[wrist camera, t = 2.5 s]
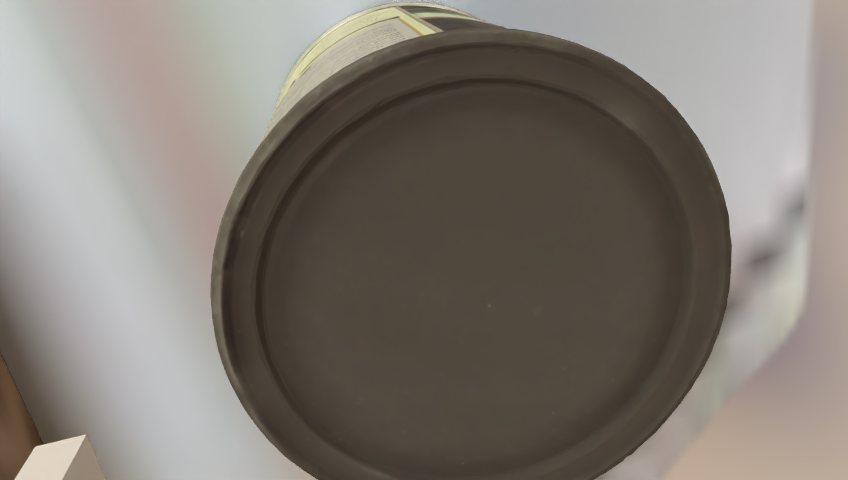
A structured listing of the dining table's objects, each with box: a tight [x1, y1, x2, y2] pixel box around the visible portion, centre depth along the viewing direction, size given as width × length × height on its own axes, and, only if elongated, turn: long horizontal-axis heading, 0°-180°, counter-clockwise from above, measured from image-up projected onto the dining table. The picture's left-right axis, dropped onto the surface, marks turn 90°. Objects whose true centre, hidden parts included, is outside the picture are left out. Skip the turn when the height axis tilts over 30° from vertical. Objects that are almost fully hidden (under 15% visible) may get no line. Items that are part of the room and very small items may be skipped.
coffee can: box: [211, 2, 732, 480], centre depth 21 cm, size 10×10×14 cm
